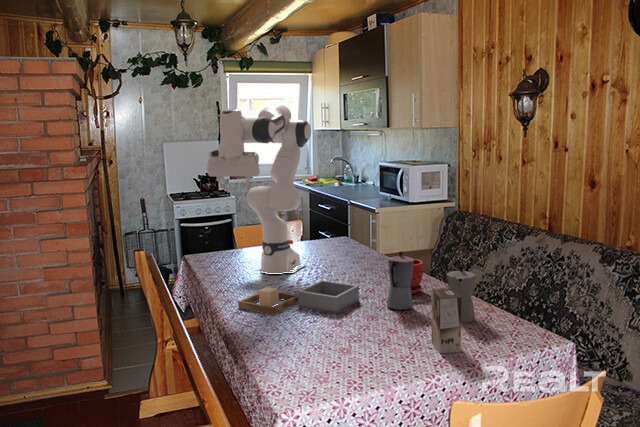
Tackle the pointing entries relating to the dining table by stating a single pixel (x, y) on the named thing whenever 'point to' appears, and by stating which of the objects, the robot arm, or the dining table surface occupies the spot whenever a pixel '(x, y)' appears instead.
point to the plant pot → (416, 276)
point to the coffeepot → (463, 291)
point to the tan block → (269, 296)
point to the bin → (328, 296)
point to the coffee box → (446, 320)
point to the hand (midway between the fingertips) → (234, 188)
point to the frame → (249, 305)
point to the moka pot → (400, 282)
